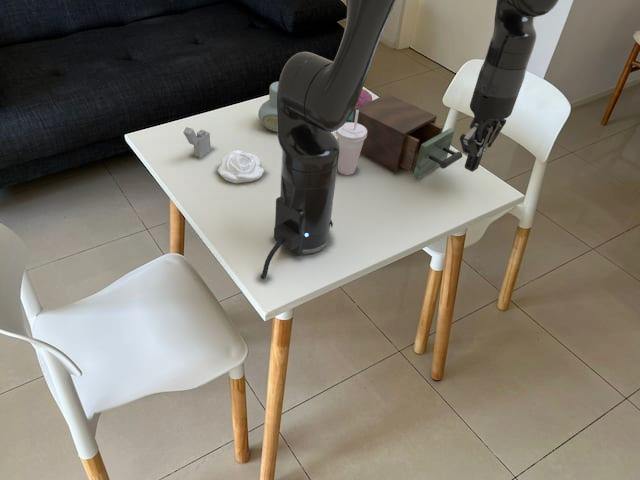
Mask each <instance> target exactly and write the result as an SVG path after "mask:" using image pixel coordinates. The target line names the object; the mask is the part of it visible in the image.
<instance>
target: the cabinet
mask: <svg viewBox="0 0 640 480" xmlns="http://www.w3.org/2000/svg"><path fill="white" fill-rule="evenodd" d="M356 110H359V113H358V120H357V124H360V125H362V126H364V127H365V128H366V129H367V137H366V138H365V139H364V142H363V146H362V149H361V152H360V155H361V156H363V157H365V158H367V159H368V160H370V161H372V162H374V163H376V164H377V165H379V166H382V167H383V168H385V169H386V170H389V171H391V172H393V173H394V174H396V173H398V172H400V171H401V170H403V169H404V168H402V167H400V166H399V163H400V159H401V154H402V150H403V145H404V140H405V136H406V135H408V134H410V133H412V132H413V131H415V130H417V129H419V128H421V127H423V126H425V125H426V124H428V123H430V122H432V123H434V124H436V121H437V119H438V118H437V117H438V116H437V115H436V114H435V113H432V112H429V111H427V110H426V109H425V110H424V109H423V108H420V107H418V106H416V105H414V104H411V103H410V102H407V101H405V100H403V99H400V98H398V97H396V96H394V95H392V94H389V93H386V94H384V95H382V96H380V97H377V98H375V99H372V101H370V102H368V103H366V104H364V105H362V106H360V107H357V108H355V109H354V113H353V120H352V121H351V123H354V122H355V114H356Z"/></svg>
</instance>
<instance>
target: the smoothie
mask: <svg viewBox="0 0 640 480" xmlns="http://www.w3.org/2000/svg"><path fill="white" fill-rule="evenodd" d="M358 113H359V110H356V114H355V122H354V123H352V121H350V122H345V124H344V125H343V126H342V127H341V128H339V129H338V130H336V131H335V135H336V137H337V138H336V139H337V141H338V143H339V159H338V167H337V172H339V173H340V174H342V175H345V176H346V175H347V176H349V175H353V174H354V173H355V172H356V169H357V165H358V162H359V159H360V155H361V154H360V152H361V149H362V146H363V142H364V139H365V138H366V137H367V129H366V128H365V127H364V126H362V125H360V124H357V120H358Z"/></svg>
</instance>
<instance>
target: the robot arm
mask: <svg viewBox="0 0 640 480" xmlns="http://www.w3.org/2000/svg"><path fill="white" fill-rule="evenodd" d="M345 1H346V19H345V27H344V31H343V34H342V35H343V36H342V38H341V41H340V45H339V47H338V50H337V53H336V55H335V57H334V59H333V60H330V59H328V58H326V57H323V56H321V55H318V54H316V53H313V52H309V51H300V52H297V53H295V54H294V55H292V56H291V57H290V58H289V59H288V60H287V62H286V63H285V65H284V66H283V68H282V70H281V73H280V75H279V79H278V81H279V83H278V90H277V125H278V132H277V141H278V145H279V146H280V149H281V169H280V171H281V172H280V173H281V174H280V193H279V194H280V196H278V197H277V198H276V199H275V215H274V216H275V217H274V228H273V231H274V232H273V239H274V241H275V242H276V243H275V245H274V246H273V247H272V248H271V250H270V251H269V253H268V255H267V257H266V258H265V261H264V264H263V268H262V273H261V275H260V279H261V280H265V279H266V278H267V275H268V273H269V272H268V271H269V267H270V264H271V261H272V259H273V257H274V256H275V254H276V252H277V251H278V250H279V249H280V247H281V246H282V247H283V248H284V249H286V250H288V251H289V252H290V253H292V254H293V255H295V256H296V257H299V256H301V255H312V254H316V253H318V252H321V251H322V250H324V249H325V248H326V247H327V246H328V244H329V242H330V231H331V228H334V227H333V226H334V223H333V220H332V214H333V213H332V212H333V205H334V198H335V189H336V180H337V173H338V159H339V143H338V141H337V138H336V137H335V135H334V134H333V132H336V130H338V129H339V128H341V127H342V126H343V125H344V124H345V123H347V121H349V120H348V119H349V117H350V115H351V114H352V112H353V110H354V108H355V106H356V104H357V101H358V99H359V97H360V94H361V91H362V89H364V86H365V84H366V80H367V78H368V74H369V71H370V68H371V66H372V64H373V60H374V59H375V58H374V57H375V55H376V52H377V49H378V46H379V44H380V41H381V38H382V37H383V33H384V31H385V29H386V26H387V23H388V21H389V19H390V16H391V14H392V12H393V11H394V8H395V5H396V3H397V0H345ZM558 2H559V0H496V6H495V13H494V14H495V15H494V25H493V33H492V35H491V39H490V41H489V45H488V48H487V51H486V55H485V58H484V61H483V63H482V66H481V67H480V69H479V73H478V77H477V79H476V83H475V86H474V90H473V92H472V96H471V98H470V99H471V100H470V102H469V109H470V111H471V113H473V115H474V116H473V119H472V120H471V122H470V124H469V128H470V129H469V131H468V132H467V133H466V134H464V133H462V134H461V135H460V136H459V142H460V145H461V149H462V153H465V154H467V157H466V160H465V163H464V168H465V169H466V170H467V171H469V172H475V171H476V170H478V169H479V166H480V164H481V160H482V158H483V156H484V155H483V154H485V153H486V152H487V149H488V148H491V147H492V145H493V144H494V143H495V141H496V139H497V137H498V136H499V134H500V133H501V131H502V129H504V126H505V125H506V124H507V119H508V118H509V117H510V116H511V115H512V112H513V110H514V107H515V105H516V102H517V99H518V97H519V93H520V91H521V88H522V86H523V83H524V80H525V76H526V72H527V68H528V66H529V65H528V64H529V62H530V59H531V56H532V53H533V51H534V48H535V45H536V40H537V31H536V29H535V27H534V18H538V17H542V16H544V15H546V14H548V13H549V12H551V11H552V10H553V9H554V8H555V7H556V5H557V4H558Z"/></svg>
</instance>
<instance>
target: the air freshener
mask: <svg viewBox="0 0 640 480" xmlns="http://www.w3.org/2000/svg"><path fill="white" fill-rule="evenodd" d="M278 83H279V80H278V81H274V82H272V83H271V84H270V85H269V91H268V93H269V94H268V95H269V98H268V100H266V101H265V102H264V103H262V104H261V106H260V107H259V109H258V119H259V122H260V123H261V124H262V125H263V126H264V127H265V128H267V129H269V130H270V131H273V132H276V133H278V125H277V90H278Z"/></svg>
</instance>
